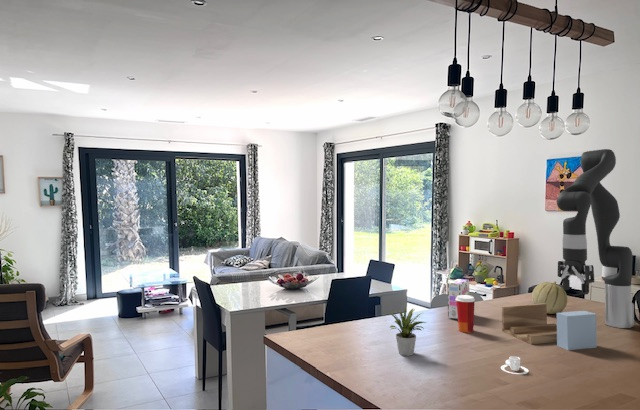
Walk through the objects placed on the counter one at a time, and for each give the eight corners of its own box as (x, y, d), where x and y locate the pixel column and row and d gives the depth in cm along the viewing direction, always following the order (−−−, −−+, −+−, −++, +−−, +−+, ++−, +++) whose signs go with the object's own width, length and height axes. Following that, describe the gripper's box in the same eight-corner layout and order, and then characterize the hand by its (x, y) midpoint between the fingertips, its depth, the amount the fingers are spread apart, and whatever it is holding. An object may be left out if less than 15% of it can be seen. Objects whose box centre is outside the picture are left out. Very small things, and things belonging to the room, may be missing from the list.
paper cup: (473, 328, 176) (472, 294, 176) (478, 333, 168) (477, 298, 168) (453, 327, 177) (453, 294, 177) (458, 333, 169) (457, 298, 169)
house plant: (393, 363, 139) (392, 313, 139) (376, 349, 152) (376, 304, 152) (432, 358, 142) (431, 310, 142) (412, 345, 156) (411, 301, 156)
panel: (585, 343, 155) (584, 310, 155) (596, 347, 150) (596, 314, 150) (557, 345, 153) (556, 312, 153) (567, 350, 148) (567, 316, 148)
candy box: (460, 320, 188) (459, 283, 188) (447, 318, 191) (446, 282, 191) (470, 314, 199) (469, 279, 199) (458, 312, 202) (457, 278, 202)
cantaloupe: (524, 311, 202) (524, 280, 202) (549, 308, 207) (548, 277, 207) (550, 318, 188) (549, 285, 188) (575, 315, 193) (574, 283, 193)
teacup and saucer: (505, 363, 138) (505, 350, 138) (532, 369, 133) (531, 356, 133) (497, 371, 131) (497, 358, 131) (525, 378, 126) (524, 364, 126)
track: (502, 331, 171) (501, 306, 171) (545, 327, 175) (544, 303, 175) (531, 344, 155) (530, 317, 155) (577, 340, 159) (577, 313, 159)
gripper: (600, 248, 146) (601, 295, 146) (568, 244, 160) (569, 287, 160) (581, 249, 144) (582, 296, 144) (551, 245, 158) (551, 288, 158)
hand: (575, 291), depth 152 cm, fingers open, 8 cm apart
